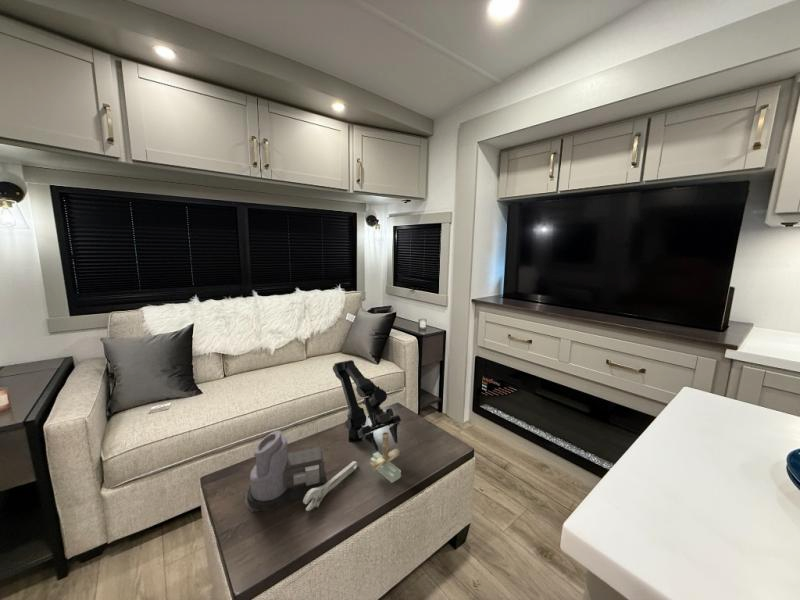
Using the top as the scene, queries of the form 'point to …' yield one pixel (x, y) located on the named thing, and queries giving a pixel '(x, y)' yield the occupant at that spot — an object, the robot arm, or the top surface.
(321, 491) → the wrench
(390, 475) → the ridge
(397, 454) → the rubber stamp
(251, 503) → the juicer
